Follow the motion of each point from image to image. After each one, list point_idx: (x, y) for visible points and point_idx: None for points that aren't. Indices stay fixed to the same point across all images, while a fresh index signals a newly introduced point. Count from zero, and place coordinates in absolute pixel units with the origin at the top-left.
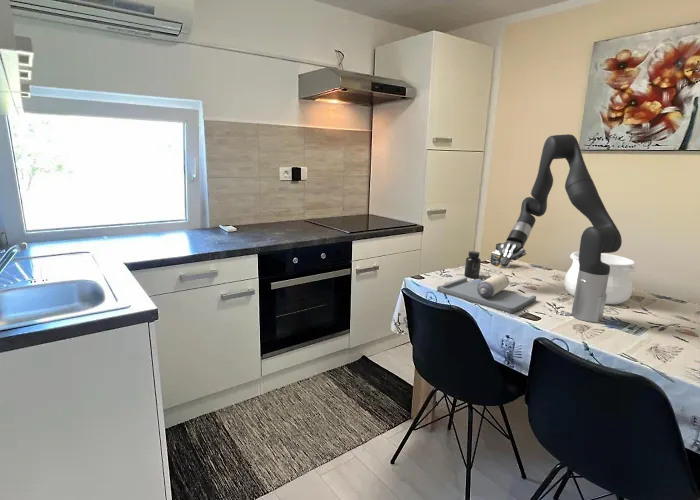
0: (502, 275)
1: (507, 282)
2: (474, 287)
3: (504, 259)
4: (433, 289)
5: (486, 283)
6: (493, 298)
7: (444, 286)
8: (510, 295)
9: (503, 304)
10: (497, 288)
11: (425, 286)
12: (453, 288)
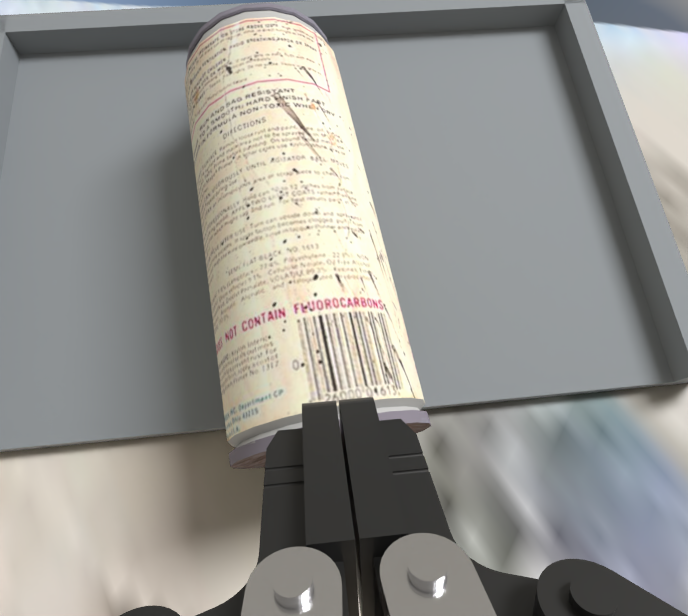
0: (282, 368)
1: (224, 416)
2: (483, 268)
3: (361, 479)
4: (607, 29)
5: (246, 12)
6: None
7: (573, 39)
8: (156, 348)
9: (103, 117)
10: (192, 144)
11: (684, 33)
12: (544, 113)
